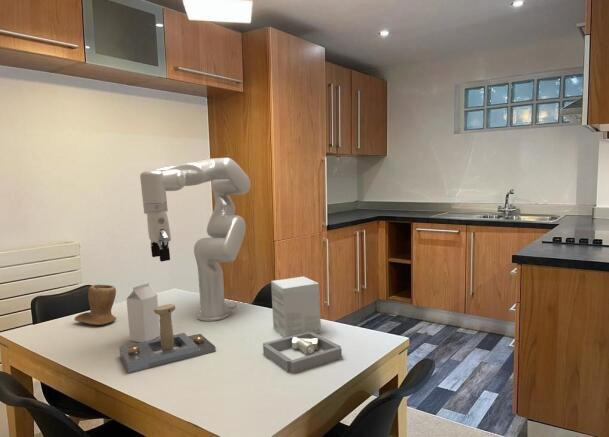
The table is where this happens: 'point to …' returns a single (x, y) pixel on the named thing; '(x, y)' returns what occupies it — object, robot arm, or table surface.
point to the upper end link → (142, 353)
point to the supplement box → (295, 306)
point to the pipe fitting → (305, 344)
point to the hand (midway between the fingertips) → (161, 258)
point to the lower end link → (203, 348)
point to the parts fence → (296, 365)
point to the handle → (166, 326)
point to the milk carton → (143, 314)
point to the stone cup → (99, 305)
